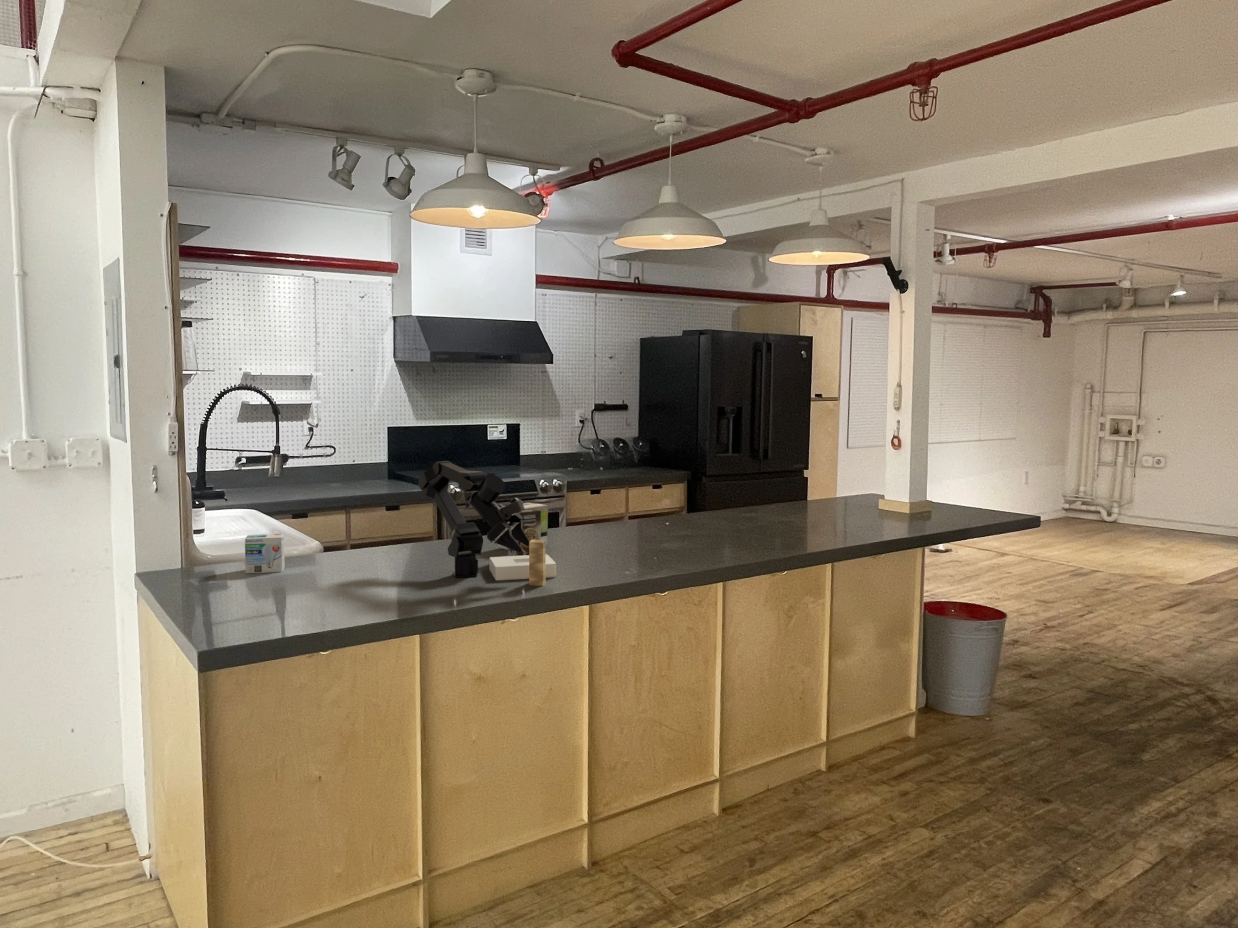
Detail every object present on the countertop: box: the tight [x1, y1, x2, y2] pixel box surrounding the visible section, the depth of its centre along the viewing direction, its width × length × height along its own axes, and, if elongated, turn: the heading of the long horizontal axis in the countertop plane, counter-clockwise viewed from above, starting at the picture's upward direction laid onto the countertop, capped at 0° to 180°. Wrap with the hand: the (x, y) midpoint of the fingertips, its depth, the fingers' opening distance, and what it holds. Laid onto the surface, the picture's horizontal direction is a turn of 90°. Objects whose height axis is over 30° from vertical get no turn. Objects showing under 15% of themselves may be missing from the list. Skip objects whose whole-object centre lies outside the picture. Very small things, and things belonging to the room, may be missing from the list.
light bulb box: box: [244, 533, 286, 574], centre depth 269 cm, size 11×7×11 cm, turn 106°
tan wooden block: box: [528, 540, 546, 587], centre depth 255 cm, size 4×4×12 cm
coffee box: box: [507, 509, 541, 556], centre depth 288 cm, size 9×6×16 cm
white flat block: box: [489, 553, 557, 581], centre depth 268 cm, size 18×14×4 cm
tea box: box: [497, 502, 549, 551], centre depth 308 cm, size 15×10×15 cm, turn 143°
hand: (525, 548), depth 255 cm, fingers open, 9 cm apart
